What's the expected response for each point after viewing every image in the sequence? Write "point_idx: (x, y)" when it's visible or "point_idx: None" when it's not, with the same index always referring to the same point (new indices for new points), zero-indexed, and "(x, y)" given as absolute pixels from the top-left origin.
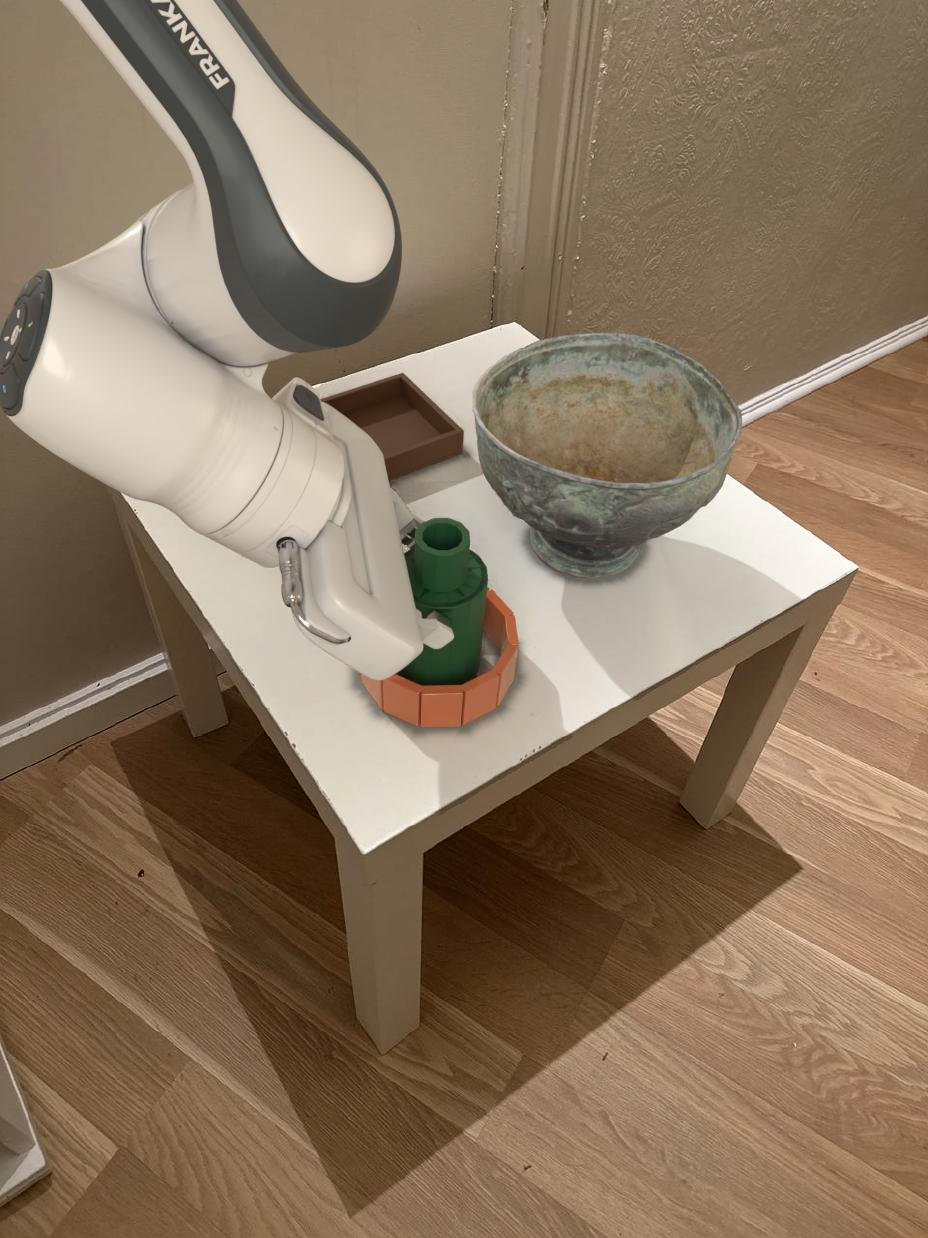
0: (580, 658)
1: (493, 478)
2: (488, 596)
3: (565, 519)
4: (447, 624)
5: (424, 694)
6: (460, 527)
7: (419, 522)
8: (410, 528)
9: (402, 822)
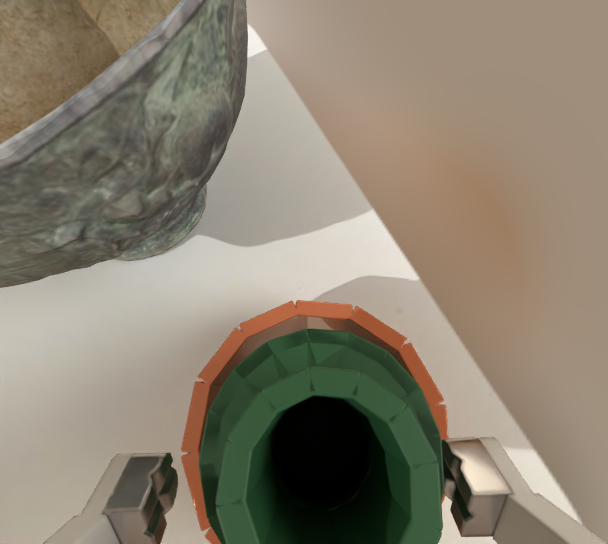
0: (321, 242)
1: (25, 265)
2: (253, 332)
3: (201, 153)
4: (480, 453)
5: None
6: (288, 397)
7: (116, 487)
8: (135, 523)
9: (571, 509)
